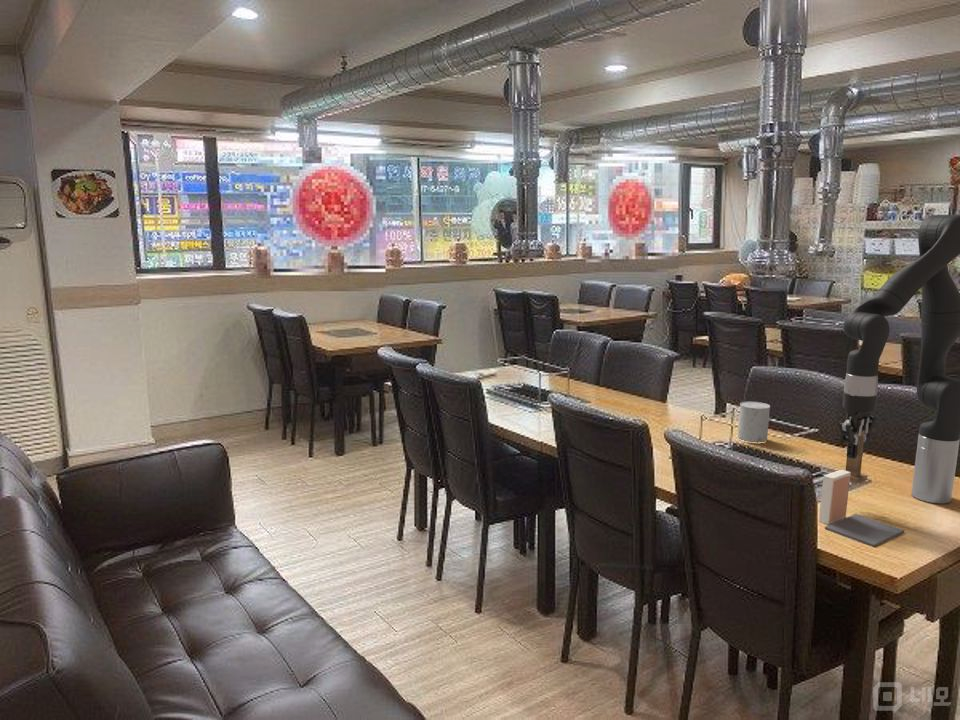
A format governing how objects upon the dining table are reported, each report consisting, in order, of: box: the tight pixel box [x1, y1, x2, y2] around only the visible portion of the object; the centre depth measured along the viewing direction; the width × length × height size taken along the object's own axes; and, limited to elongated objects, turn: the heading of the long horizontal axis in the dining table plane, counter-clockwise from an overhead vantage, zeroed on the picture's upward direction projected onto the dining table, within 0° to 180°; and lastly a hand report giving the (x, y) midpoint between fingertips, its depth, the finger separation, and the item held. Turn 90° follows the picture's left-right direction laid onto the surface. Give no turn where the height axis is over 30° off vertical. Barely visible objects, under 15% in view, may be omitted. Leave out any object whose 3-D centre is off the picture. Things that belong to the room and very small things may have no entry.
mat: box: [824, 513, 905, 548], centre depth 173 cm, size 14×12×1 cm
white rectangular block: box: [818, 469, 851, 526], centre depth 178 cm, size 8×3×12 cm, turn 124°
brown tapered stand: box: [845, 430, 869, 485], centre depth 184 cm, size 5×5×13 cm
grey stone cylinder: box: [737, 401, 771, 443], centre depth 243 cm, size 10×10×12 cm
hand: (854, 456), depth 184 cm, fingers closed on brown tapered stand, 2 cm apart
